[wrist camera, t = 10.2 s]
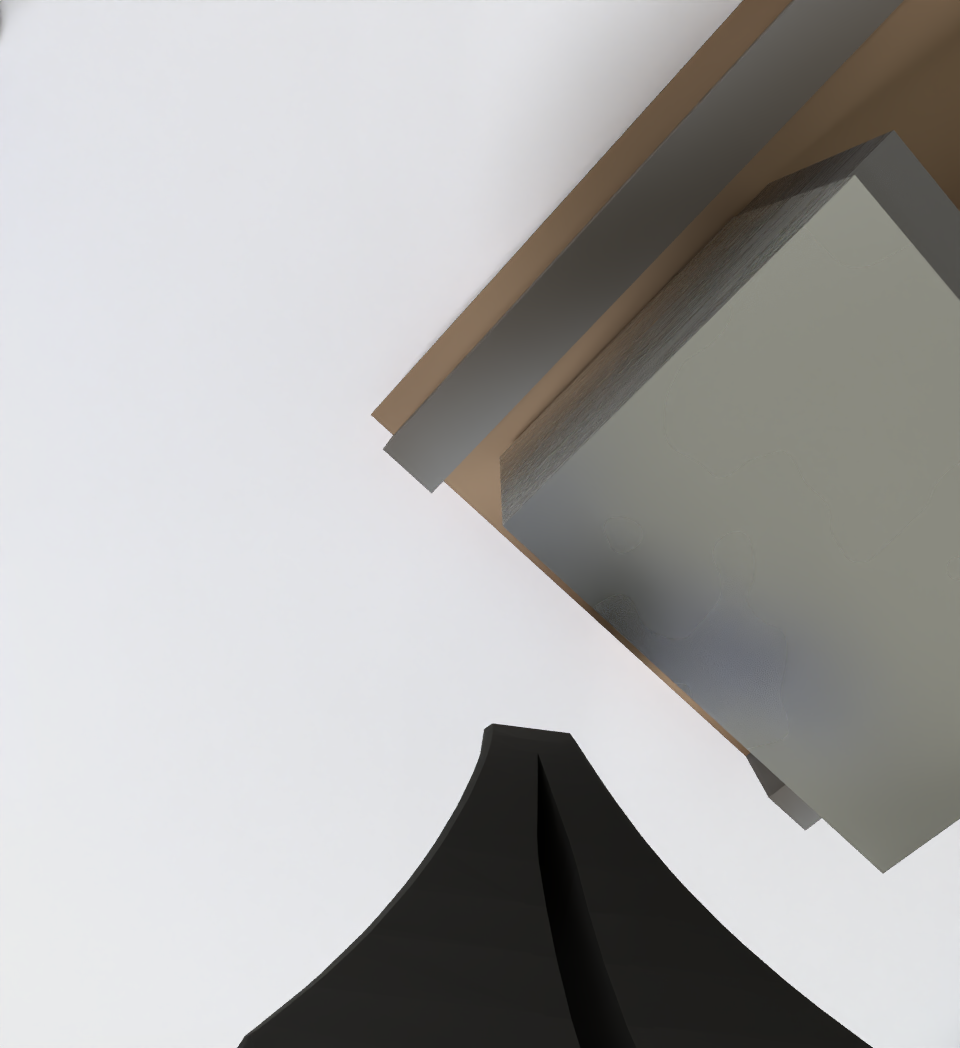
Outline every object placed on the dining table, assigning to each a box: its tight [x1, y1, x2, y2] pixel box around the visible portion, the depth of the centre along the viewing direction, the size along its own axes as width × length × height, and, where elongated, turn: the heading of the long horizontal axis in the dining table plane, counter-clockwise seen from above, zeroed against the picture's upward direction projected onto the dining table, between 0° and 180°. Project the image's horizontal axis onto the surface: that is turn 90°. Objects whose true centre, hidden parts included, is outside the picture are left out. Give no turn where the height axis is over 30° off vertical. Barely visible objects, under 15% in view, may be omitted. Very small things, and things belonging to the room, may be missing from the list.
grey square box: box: [499, 130, 960, 873], centre depth 10 cm, size 7×6×4 cm
